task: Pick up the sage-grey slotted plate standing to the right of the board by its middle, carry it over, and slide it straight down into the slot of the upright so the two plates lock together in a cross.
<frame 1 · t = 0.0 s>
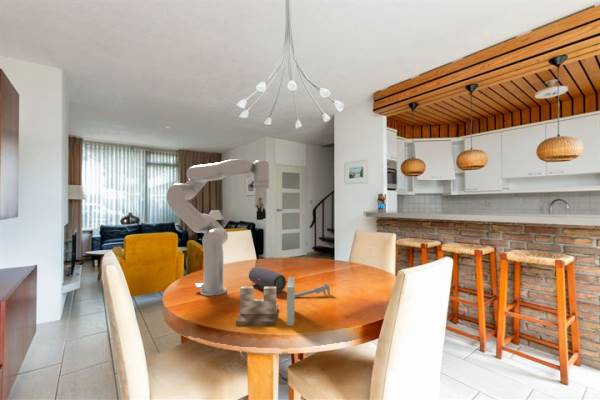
hand: (261, 219, 141), 37 cm above the table, tool pointing down, fingers open, 9 cm apart
slotted stand: (258, 316, 111), on the table
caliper: (309, 297, 135), on the table
slotted plate: (291, 317, 110), on the table
bluetooth speaker: (266, 289, 147), on the table
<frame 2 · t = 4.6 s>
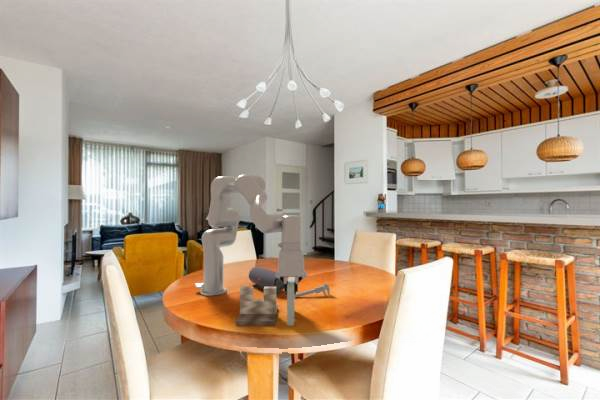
hand: (291, 292, 110), 10 cm above the table, tool pointing down, fingers closed on slotted plate, 2 cm apart
slotted plate: (291, 317, 110), on the table, touching gripper
everything else where it was.
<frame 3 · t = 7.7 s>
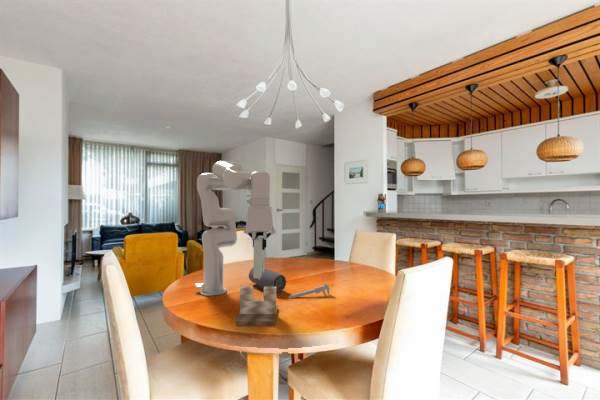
hand: (259, 248, 111), 27 cm above the table, tool pointing down, fingers closed on slotted plate, 2 cm apart
slotted plate: (259, 273, 111), point 17 cm above the table, touching gripper
everything else where it was.
when the fingers open (12 cm above the table, at t = 11.1 s): slotted plate stays where it is, resting on slotted stand.
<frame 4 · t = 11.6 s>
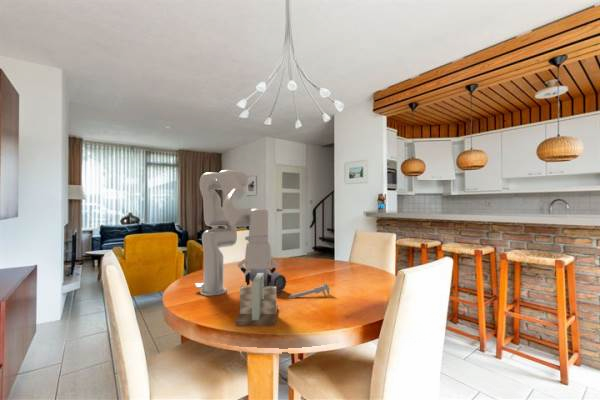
hand: (258, 284, 111), 13 cm above the table, tool pointing down, fingers open, 7 cm apart
slotted plate: (258, 312, 111), point 1 cm above the table, touching slotted stand
everything else where it was.
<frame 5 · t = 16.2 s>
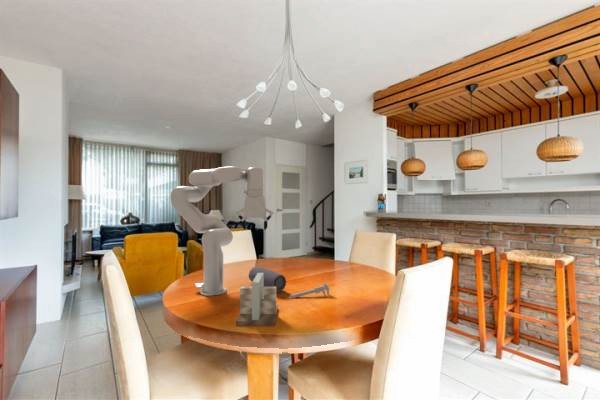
hand: (254, 229, 133), 32 cm above the table, tool pointing down, fingers open, 9 cm apart
nothing on the table moved.
at the end: slotted plate 0.1 cm off-centre on the slotted stand, point 1.5 cm above the slotted stand's base; slotted plate tilted 0°; the gripper is holding nothing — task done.
